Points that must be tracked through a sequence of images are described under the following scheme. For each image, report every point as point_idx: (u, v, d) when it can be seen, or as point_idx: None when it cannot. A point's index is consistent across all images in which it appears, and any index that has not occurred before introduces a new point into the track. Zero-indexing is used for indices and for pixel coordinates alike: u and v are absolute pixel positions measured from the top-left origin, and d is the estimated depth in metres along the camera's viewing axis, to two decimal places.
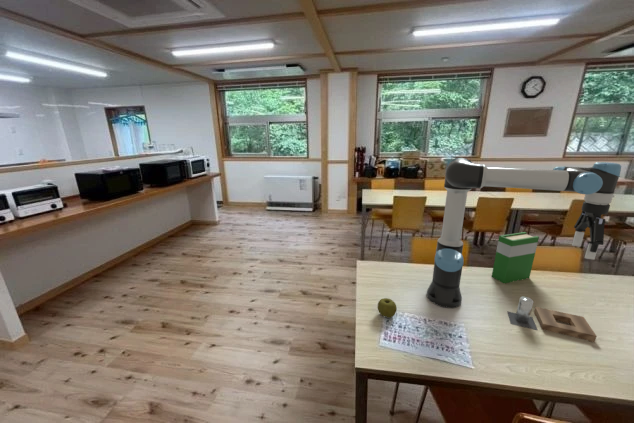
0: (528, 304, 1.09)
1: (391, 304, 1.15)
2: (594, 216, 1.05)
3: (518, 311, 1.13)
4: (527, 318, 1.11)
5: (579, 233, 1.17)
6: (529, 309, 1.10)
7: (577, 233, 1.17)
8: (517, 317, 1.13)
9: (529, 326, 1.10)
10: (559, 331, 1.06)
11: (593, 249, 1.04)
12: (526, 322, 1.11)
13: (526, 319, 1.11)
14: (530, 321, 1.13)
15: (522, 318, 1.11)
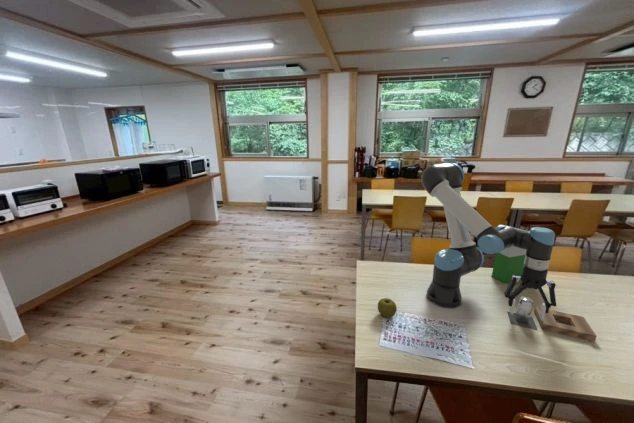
0: (528, 304, 1.09)
1: (391, 304, 1.15)
2: None
3: (518, 311, 1.13)
4: (527, 318, 1.11)
5: (542, 305, 1.09)
6: (529, 309, 1.10)
7: (542, 304, 1.10)
8: (517, 317, 1.13)
9: (529, 326, 1.10)
10: (559, 331, 1.06)
11: (508, 302, 1.14)
12: (526, 322, 1.11)
13: (526, 319, 1.11)
14: (530, 321, 1.13)
15: (522, 318, 1.11)
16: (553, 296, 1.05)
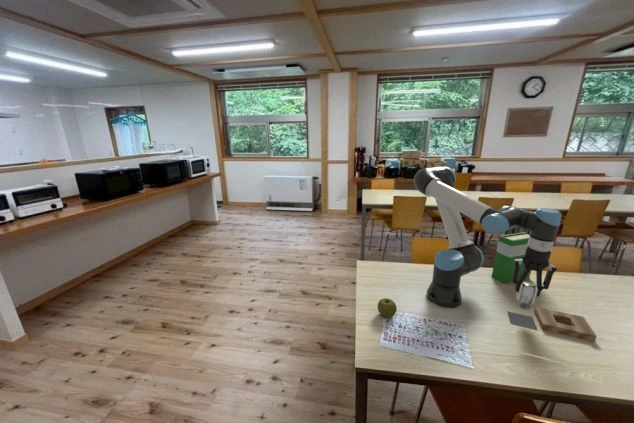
0: (530, 289, 1.08)
1: (391, 304, 1.15)
2: None
3: (520, 296, 1.11)
4: (529, 303, 1.10)
5: None
6: (531, 294, 1.08)
7: None
8: (518, 302, 1.12)
9: (529, 326, 1.10)
10: (559, 331, 1.06)
11: (515, 287, 1.12)
12: (528, 307, 1.10)
13: (527, 304, 1.10)
14: (530, 321, 1.13)
15: (524, 303, 1.10)
16: (549, 279, 1.05)
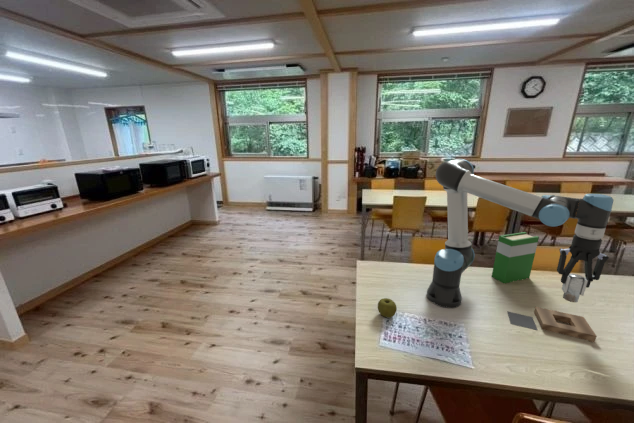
0: (579, 281, 1.02)
1: (391, 304, 1.15)
2: None
3: (567, 289, 1.06)
4: (577, 296, 1.04)
5: None
6: (580, 286, 1.03)
7: None
8: (566, 296, 1.06)
9: (529, 326, 1.10)
10: (559, 331, 1.06)
11: (561, 279, 1.06)
12: (576, 300, 1.04)
13: (576, 297, 1.04)
14: (530, 321, 1.13)
15: (572, 296, 1.04)
16: (600, 269, 0.99)
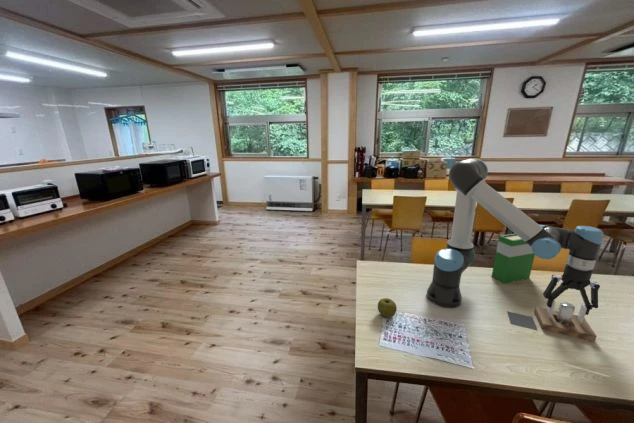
0: (570, 310, 1.06)
1: (391, 304, 1.15)
2: None
3: (558, 317, 1.09)
4: (568, 324, 1.08)
5: (582, 307, 1.06)
6: (571, 315, 1.06)
7: (581, 306, 1.06)
8: None
9: (529, 326, 1.10)
10: (559, 331, 1.06)
11: (547, 303, 1.11)
12: None
13: None
14: (530, 321, 1.13)
15: None
16: (596, 297, 1.02)
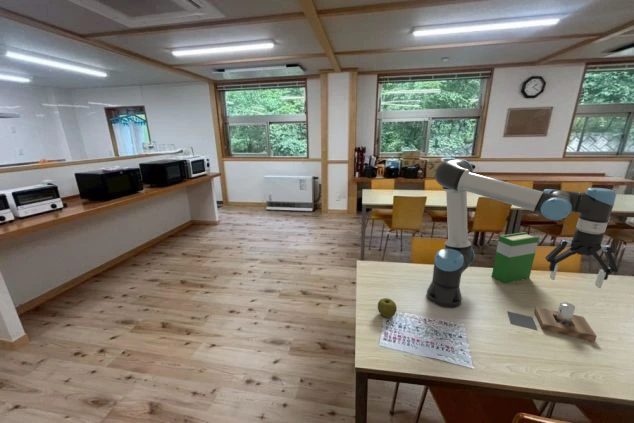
0: (570, 310, 1.06)
1: (391, 304, 1.15)
2: None
3: (558, 317, 1.09)
4: (568, 324, 1.08)
5: (600, 271, 1.01)
6: (571, 315, 1.06)
7: (599, 271, 1.01)
8: None
9: (529, 326, 1.10)
10: (559, 331, 1.06)
11: (549, 267, 1.07)
12: None
13: None
14: (530, 321, 1.13)
15: None
16: (612, 261, 0.97)
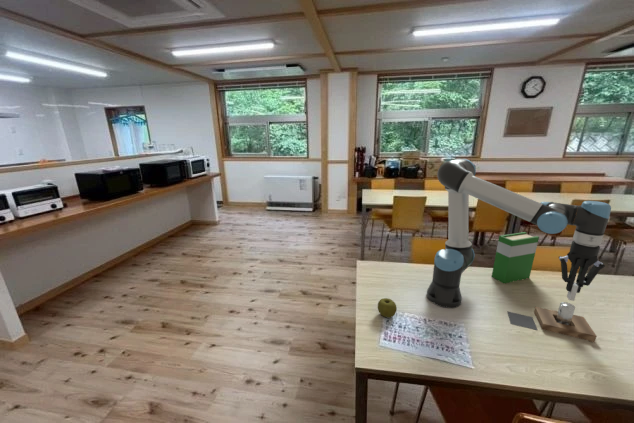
0: (570, 310, 1.06)
1: (391, 304, 1.15)
2: None
3: (558, 317, 1.09)
4: (568, 324, 1.08)
5: None
6: (571, 315, 1.06)
7: None
8: None
9: (529, 326, 1.10)
10: (559, 331, 1.06)
11: (566, 287, 1.06)
12: None
13: None
14: (530, 321, 1.13)
15: None
16: (593, 276, 1.01)
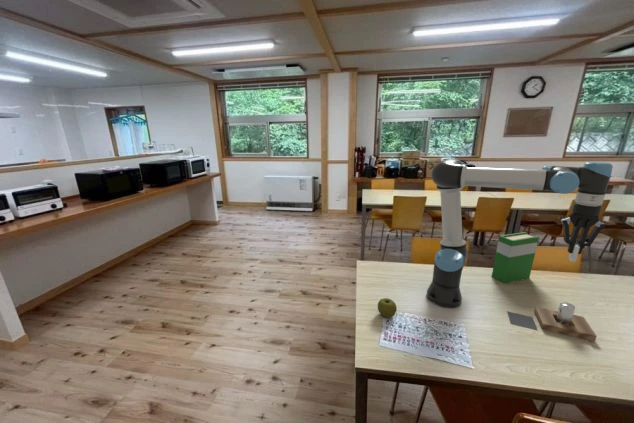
0: (570, 310, 1.06)
1: (391, 304, 1.15)
2: None
3: (558, 317, 1.09)
4: (568, 324, 1.08)
5: None
6: (571, 315, 1.06)
7: None
8: None
9: (529, 326, 1.10)
10: (559, 331, 1.06)
11: (568, 249, 1.09)
12: None
13: None
14: (530, 321, 1.13)
15: None
16: (594, 236, 1.03)
